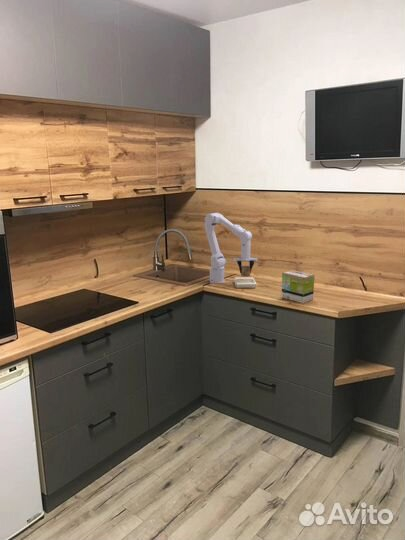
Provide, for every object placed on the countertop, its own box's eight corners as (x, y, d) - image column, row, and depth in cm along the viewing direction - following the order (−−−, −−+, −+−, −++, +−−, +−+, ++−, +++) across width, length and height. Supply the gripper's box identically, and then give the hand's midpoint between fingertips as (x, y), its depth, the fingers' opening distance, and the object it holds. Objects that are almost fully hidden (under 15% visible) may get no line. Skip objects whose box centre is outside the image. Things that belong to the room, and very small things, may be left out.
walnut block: (241, 276, 280) (242, 268, 279) (240, 273, 288) (240, 265, 287) (250, 276, 280) (250, 268, 279) (248, 273, 288) (248, 265, 287)
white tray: (236, 289, 277) (236, 284, 276) (234, 282, 294) (234, 277, 293) (256, 289, 277) (256, 283, 276) (253, 282, 294) (253, 277, 293)
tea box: (280, 298, 259) (281, 272, 256) (291, 294, 266) (292, 269, 263) (303, 303, 249) (304, 276, 245) (313, 300, 255) (315, 274, 252)
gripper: (234, 252, 277) (234, 274, 280) (258, 252, 277) (258, 274, 280) (233, 250, 283) (233, 272, 286) (256, 250, 284) (256, 271, 287)
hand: (245, 273), depth 284 cm, fingers closed on walnut block, 5 cm apart
